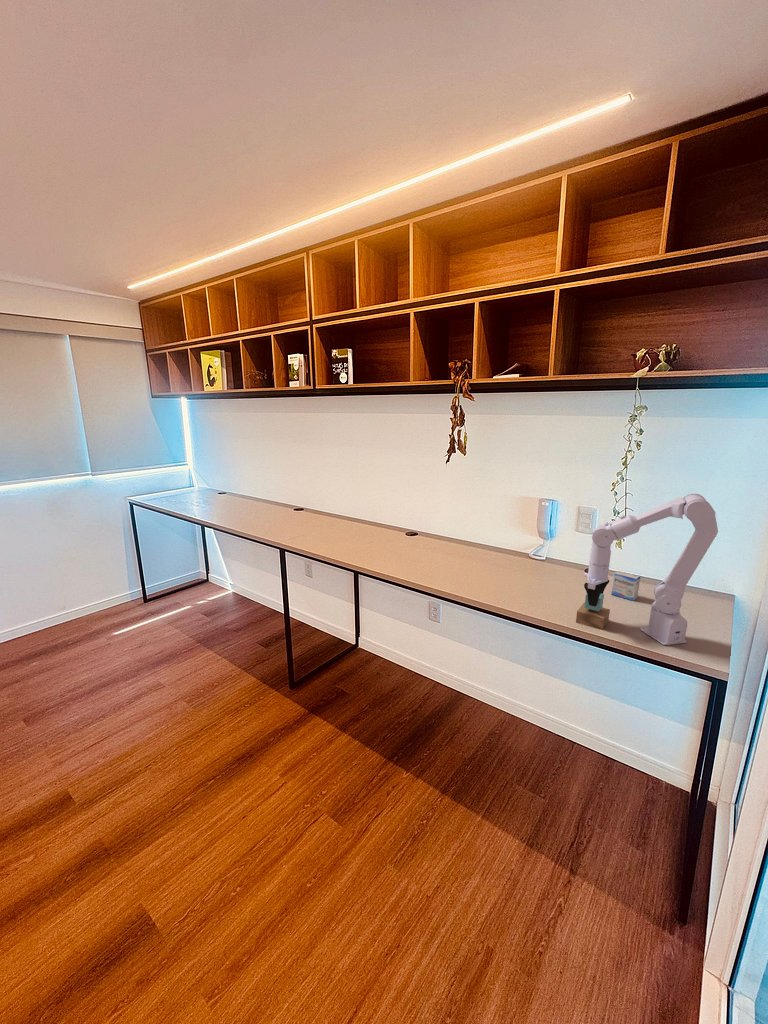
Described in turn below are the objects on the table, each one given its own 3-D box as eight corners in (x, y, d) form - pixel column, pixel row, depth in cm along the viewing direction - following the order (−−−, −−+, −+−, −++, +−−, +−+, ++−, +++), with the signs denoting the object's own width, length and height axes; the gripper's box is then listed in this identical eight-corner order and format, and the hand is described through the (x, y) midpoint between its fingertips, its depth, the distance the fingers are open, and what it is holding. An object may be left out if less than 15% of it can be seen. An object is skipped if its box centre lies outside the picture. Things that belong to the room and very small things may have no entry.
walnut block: (608, 620, 143) (609, 609, 142) (602, 629, 137) (603, 618, 136) (582, 613, 148) (584, 602, 147) (575, 622, 142) (577, 611, 141)
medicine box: (610, 595, 163) (613, 573, 161) (614, 591, 166) (617, 570, 164) (633, 601, 157) (637, 579, 155) (637, 597, 160) (640, 575, 158)
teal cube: (602, 606, 142) (604, 594, 141) (598, 611, 139) (600, 598, 138) (588, 602, 145) (589, 590, 144) (584, 607, 141) (585, 595, 140)
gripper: (592, 554, 146) (587, 592, 149) (579, 566, 135) (574, 607, 138) (615, 559, 142) (610, 597, 145) (604, 572, 131) (598, 613, 134)
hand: (594, 602), depth 141 cm, fingers closed on teal cube, 4 cm apart
